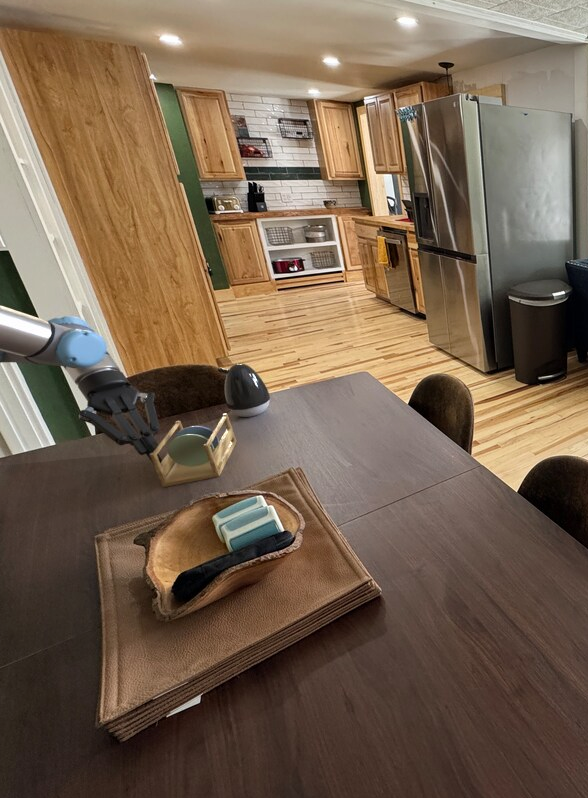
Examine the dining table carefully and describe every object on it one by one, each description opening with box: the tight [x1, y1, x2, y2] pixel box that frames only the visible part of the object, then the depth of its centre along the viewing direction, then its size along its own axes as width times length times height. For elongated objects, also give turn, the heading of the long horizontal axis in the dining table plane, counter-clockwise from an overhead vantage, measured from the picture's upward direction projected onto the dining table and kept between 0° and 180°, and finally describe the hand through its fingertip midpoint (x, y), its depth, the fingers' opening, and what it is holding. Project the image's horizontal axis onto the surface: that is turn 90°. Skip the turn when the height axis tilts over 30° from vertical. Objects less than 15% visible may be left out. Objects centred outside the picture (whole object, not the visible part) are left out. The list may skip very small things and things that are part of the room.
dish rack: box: [150, 413, 238, 488], centre depth 109 cm, size 16×10×9 cm, turn 24°
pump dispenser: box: [216, 363, 271, 418], centre depth 134 cm, size 10×10×15 cm
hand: (158, 463), depth 103 cm, fingers closed
